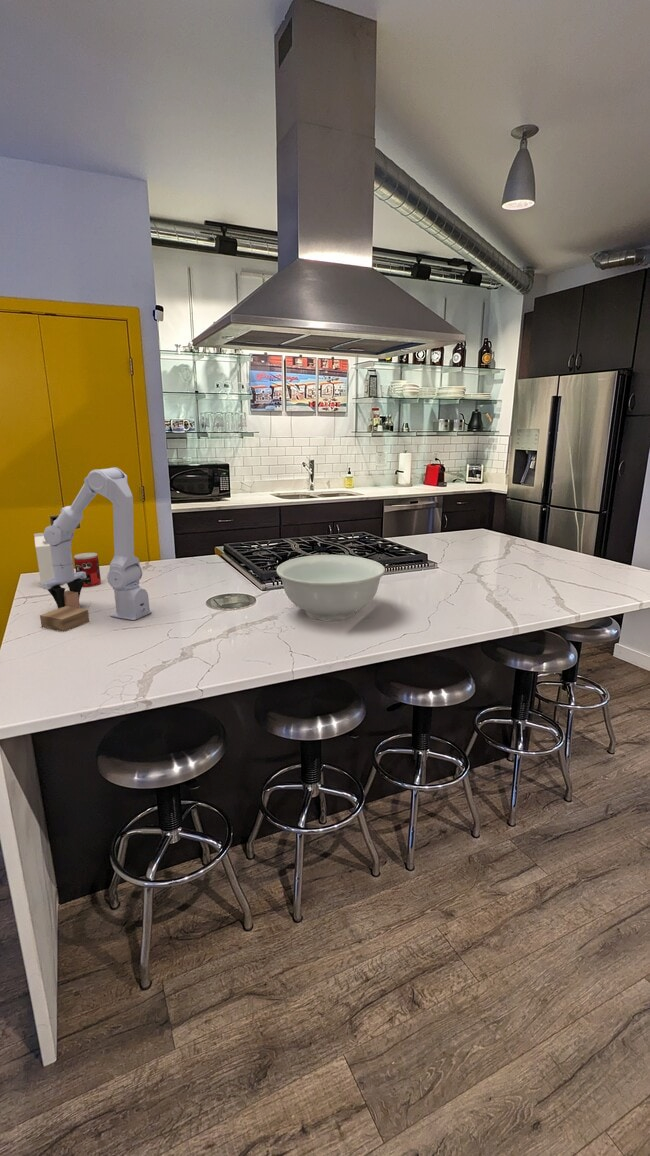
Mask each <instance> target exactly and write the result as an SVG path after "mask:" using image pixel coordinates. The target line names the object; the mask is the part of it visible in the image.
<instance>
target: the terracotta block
mask: <svg viewBox="0 0 650 1156" xmlns="http://www.w3.org/2000/svg"><path fill="white" fill-rule="evenodd" d="M64 603H65V606H68V607H74V608H80V609H81V604H80V597H79V596H78V592H73V591H70V590H65V592H64ZM56 606H57V605H56ZM57 609H59V608H58V606H57Z"/></svg>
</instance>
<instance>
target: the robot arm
mask: <svg viewBox="0 0 650 1156" xmlns="http://www.w3.org/2000/svg"><path fill="white" fill-rule="evenodd" d="M83 481H84V483H83V485H82V487H81V488H80V490H79V492H78V494H77V495H76V496H75V498H74V500H73V502H72V504H71V505H67V506H64V507H62V508H61V509H59V511H60V513H59V515H58V517H56V519H55V520H53V521H52V522H53V523H52V525H48V526H46V527H45V528H44V531H43V533H44V539H45V541H46V542H47V543H48V544H50V551H51V558H52V565H53V571H54V577H53V579H51V580H49V581H46V582H44V583H42V584H43V587H42V589H43V590H47V591H48V593H50V595H51V596H52V597H53V600H54V601H55V604H56V606H58V607H57V609H58V608H62V607H65V603H64V592H65V591H66V587H62V586H63V585H65V584H67V587H68V591H73V592H78V596H79V598H80V597H81V596H80V595H81V592H82V588H83V587H82V586H83V584H84V581H83V580H81V579H82V578H86V572H77V573H76V572H75V566H74V562H73V561H74V559H73V554H72V545H73V544H72V542H73V541H72V540H73V539H74V535H75V534H74V532H75V530H76V528H77V527H78V526H79V524H80V523H81V521H82V520H83V518H84V515H83V514H84V513H83V511H84V510H85V509H86V508H87V507H88V505H89V504H90V503H91V502H92V500H93V499H94V498H95V497H96V495H98V494H99V495H101V496H103V497H104V498H106V499H108V500H109V501H110V502H111V503H112V512H113V513H112V517H113V518H112V519H113V520H112V522H113V547H114V552H113V553H114V555H113V558H112V559H111V562H110V563H109V570H108V573H106V574H107V576H106V579H107V582H108V584H109V585H110V587H112V590H113V593H114V602H115V610H116V612H113V613H111V614H110V617H112V618H113V617H114V618H118V619H124V620H128V621H136V620H138V619H141V618H143V617H145V616H148V615H149V614H152V613H153V611H152V610H150V609H151V608H150V602H149V601H150V600H149V594H148V591H147V590H146V589H144V588H142V587H141V586H140V580H141V579H142V577H143V570H142V567H141V565H140V563H141V562H140V558H138V557H137V556H135V540H134V539H135V538H134V537H135V536H134V535H135V534H134V529H135V527H134V497H133V493H132V491H131V488H130V486H129V483H128V475H127V474H126V473H125V472H123V470H122V469H121V468H119V467H115V466H111V467H109V468H101V469H92V470H91V471H90V472H88V474H87V476H85V478H84V479H83ZM62 584H63V585H62Z"/></svg>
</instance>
